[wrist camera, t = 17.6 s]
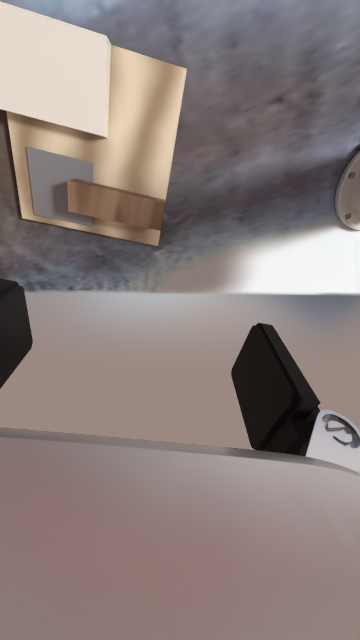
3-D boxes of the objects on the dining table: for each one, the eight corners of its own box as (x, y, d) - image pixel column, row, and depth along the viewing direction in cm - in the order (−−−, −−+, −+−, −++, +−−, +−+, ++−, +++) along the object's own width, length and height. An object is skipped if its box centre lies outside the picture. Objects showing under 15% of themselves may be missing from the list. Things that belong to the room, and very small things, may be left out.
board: (186, 72, 27) (186, 69, 26) (158, 244, 38) (158, 246, 37) (-2, 12, 24) (-10, 6, 23) (26, 216, 35) (22, 218, 34)
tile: (106, 35, 23) (-28, -8, 21) (103, 136, 27) (-8, 106, 26) (111, 45, 25) (-13, 5, 23) (107, 138, 29) (3, 110, 27)
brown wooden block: (76, 178, 31) (164, 199, 33) (76, 206, 33) (160, 225, 35) (67, 180, 28) (165, 203, 30) (68, 211, 30) (160, 231, 32)
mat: (93, 162, 30) (92, 162, 30) (92, 225, 35) (92, 226, 34) (28, 146, 29) (26, 146, 29) (35, 213, 34) (34, 214, 33)
